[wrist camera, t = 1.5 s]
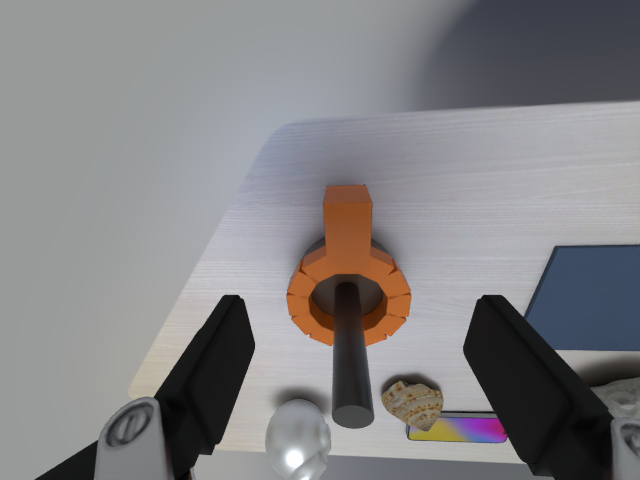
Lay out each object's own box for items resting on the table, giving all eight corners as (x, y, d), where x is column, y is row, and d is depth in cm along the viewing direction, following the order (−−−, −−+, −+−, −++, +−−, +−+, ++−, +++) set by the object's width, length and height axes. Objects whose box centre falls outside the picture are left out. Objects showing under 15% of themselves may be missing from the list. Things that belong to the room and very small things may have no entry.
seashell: (419, 379, 30) (461, 434, 29) (417, 352, 35) (452, 398, 34) (367, 402, 33) (404, 452, 32) (372, 374, 38) (404, 417, 37)
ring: (276, 188, 19) (260, 206, 15) (418, 182, 18) (441, 200, 14) (297, 331, 26) (289, 368, 22) (399, 332, 25) (410, 371, 21)
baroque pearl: (310, 425, 41) (303, 511, 32) (263, 403, 39) (241, 488, 30) (344, 403, 37) (346, 493, 28) (294, 377, 35) (279, 466, 26)
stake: (295, 233, 24) (250, 357, 12) (396, 231, 23) (464, 362, 11) (304, 308, 29) (278, 454, 16) (389, 308, 28) (430, 463, 15)
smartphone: (409, 415, 36) (516, 418, 34) (408, 410, 37) (513, 412, 35) (406, 440, 39) (504, 443, 38) (405, 435, 40) (502, 438, 38)
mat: (555, 246, 23) (558, 248, 22) (722, 243, 22) (729, 245, 21) (510, 346, 29) (512, 349, 29) (637, 348, 28) (641, 351, 28)
